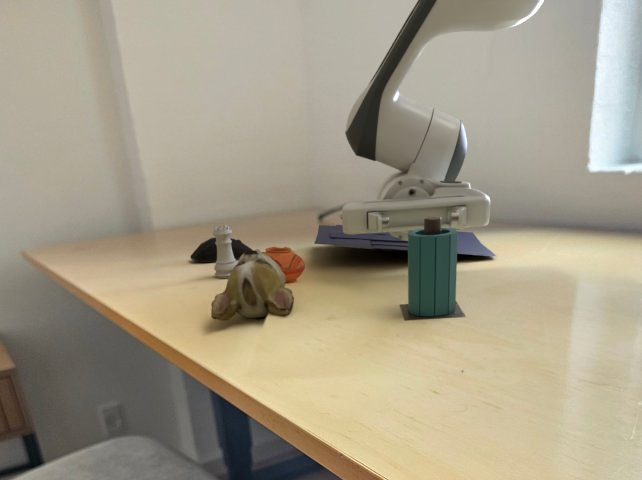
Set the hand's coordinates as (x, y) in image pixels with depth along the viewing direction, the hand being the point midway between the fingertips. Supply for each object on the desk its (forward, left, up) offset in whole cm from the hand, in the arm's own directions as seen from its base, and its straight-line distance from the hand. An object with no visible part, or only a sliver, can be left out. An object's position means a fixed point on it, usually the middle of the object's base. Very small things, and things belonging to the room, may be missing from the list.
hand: (420, 222), depth 85 cm
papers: (0, -33, -10) cm, 34 cm away
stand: (0, +12, -10) cm, 15 cm away
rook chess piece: (+30, -22, -10) cm, 38 cm away
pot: (+20, -10, -10) cm, 24 cm away
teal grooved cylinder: (0, +12, -8) cm, 15 cm away
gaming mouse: (+32, -38, -10) cm, 51 cm away
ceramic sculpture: (+22, +4, -10) cm, 24 cm away
